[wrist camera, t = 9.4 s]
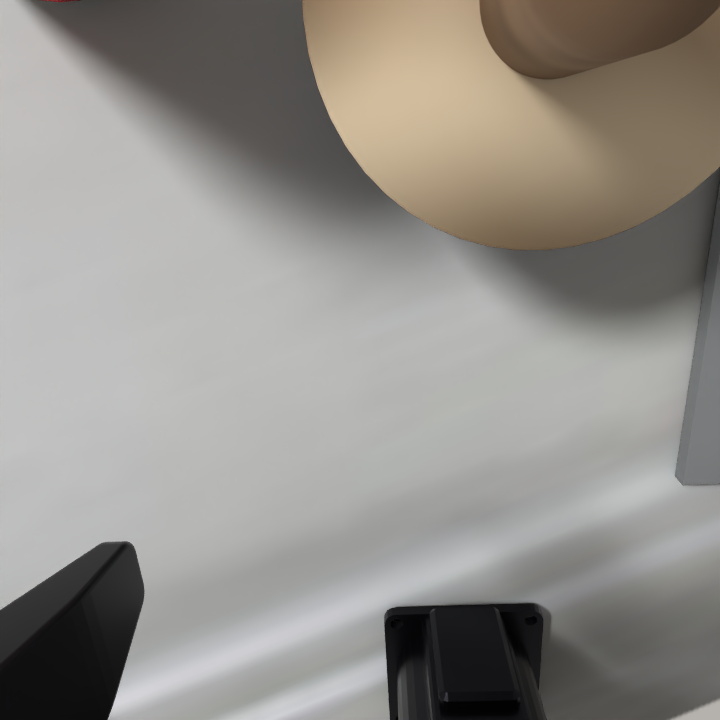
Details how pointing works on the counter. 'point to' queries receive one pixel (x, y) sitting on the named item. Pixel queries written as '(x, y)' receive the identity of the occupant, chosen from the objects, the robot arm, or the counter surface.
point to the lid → (524, 109)
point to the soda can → (61, 0)
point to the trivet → (704, 382)
